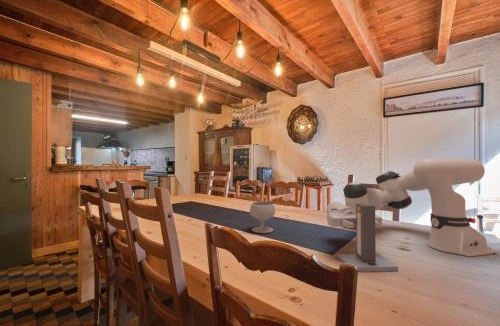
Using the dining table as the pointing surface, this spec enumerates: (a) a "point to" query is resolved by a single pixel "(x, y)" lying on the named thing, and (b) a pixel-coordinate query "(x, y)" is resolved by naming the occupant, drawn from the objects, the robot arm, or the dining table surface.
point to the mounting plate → (379, 265)
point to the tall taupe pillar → (365, 233)
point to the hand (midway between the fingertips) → (364, 225)
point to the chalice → (262, 215)
